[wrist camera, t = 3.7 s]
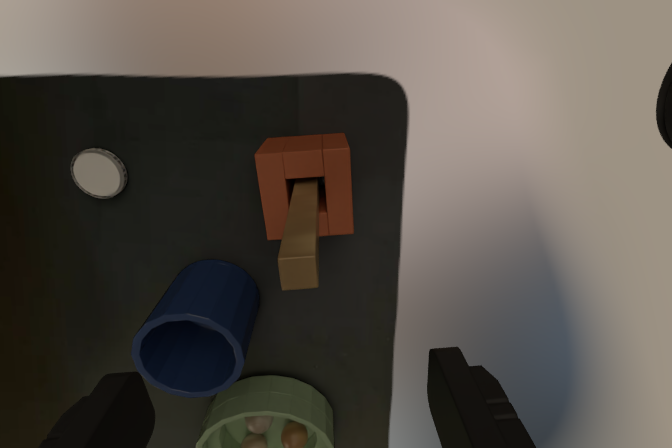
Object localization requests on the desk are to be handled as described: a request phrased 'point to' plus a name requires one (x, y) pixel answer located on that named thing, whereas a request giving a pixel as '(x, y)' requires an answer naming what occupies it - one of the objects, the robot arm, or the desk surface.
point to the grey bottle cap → (98, 173)
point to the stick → (301, 238)
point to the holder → (302, 162)
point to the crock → (198, 330)
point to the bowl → (267, 412)
